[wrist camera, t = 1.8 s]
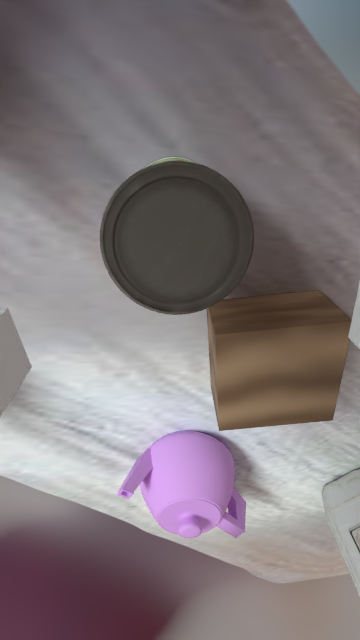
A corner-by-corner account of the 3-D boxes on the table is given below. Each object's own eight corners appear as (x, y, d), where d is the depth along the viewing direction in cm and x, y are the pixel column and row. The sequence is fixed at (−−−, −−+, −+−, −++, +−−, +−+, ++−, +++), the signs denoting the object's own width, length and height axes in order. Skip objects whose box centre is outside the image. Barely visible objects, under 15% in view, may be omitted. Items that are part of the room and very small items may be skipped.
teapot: (264, 450, 52) (288, 526, 42) (212, 498, 58) (222, 574, 48) (151, 403, 46) (146, 477, 36) (106, 462, 52) (91, 540, 42)
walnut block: (206, 301, 38) (215, 334, 31) (319, 290, 38) (353, 321, 31) (211, 387, 45) (219, 430, 38) (306, 378, 45) (332, 420, 38)
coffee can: (132, 144, 30) (108, 141, 17) (233, 170, 31) (277, 183, 19) (119, 247, 35) (92, 301, 22) (207, 265, 36) (228, 326, 24)
